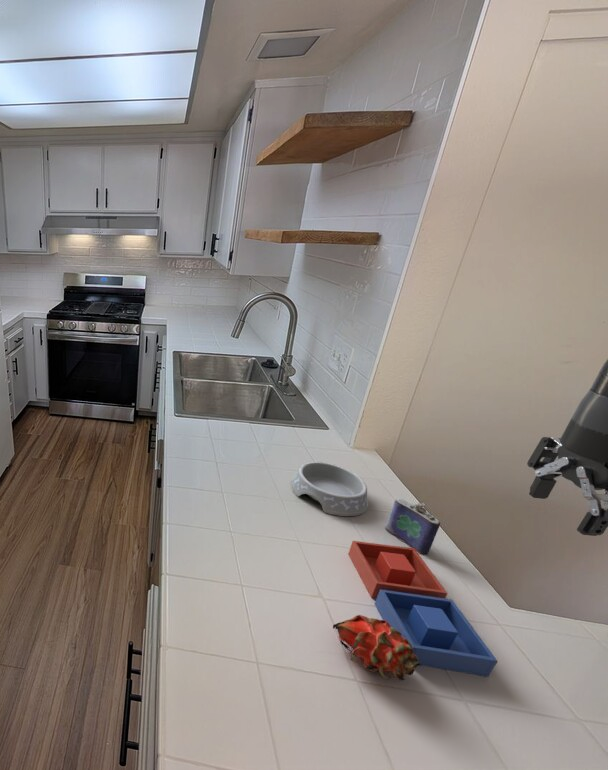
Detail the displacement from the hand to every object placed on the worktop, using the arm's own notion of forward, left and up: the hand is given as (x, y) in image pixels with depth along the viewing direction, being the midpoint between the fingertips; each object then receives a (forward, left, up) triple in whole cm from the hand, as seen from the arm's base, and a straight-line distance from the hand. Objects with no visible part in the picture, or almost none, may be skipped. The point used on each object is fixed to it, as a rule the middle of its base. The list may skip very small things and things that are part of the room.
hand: (560, 514), depth 61 cm
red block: (+14, -8, -26) cm, 30 cm away
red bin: (+14, -8, -26) cm, 30 cm away
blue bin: (+14, +5, -26) cm, 30 cm away
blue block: (+14, +5, -26) cm, 30 cm away
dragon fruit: (+26, +11, -26) cm, 39 cm away
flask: (+5, -20, -26) cm, 33 cm away
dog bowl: (+17, -35, -26) cm, 47 cm away
